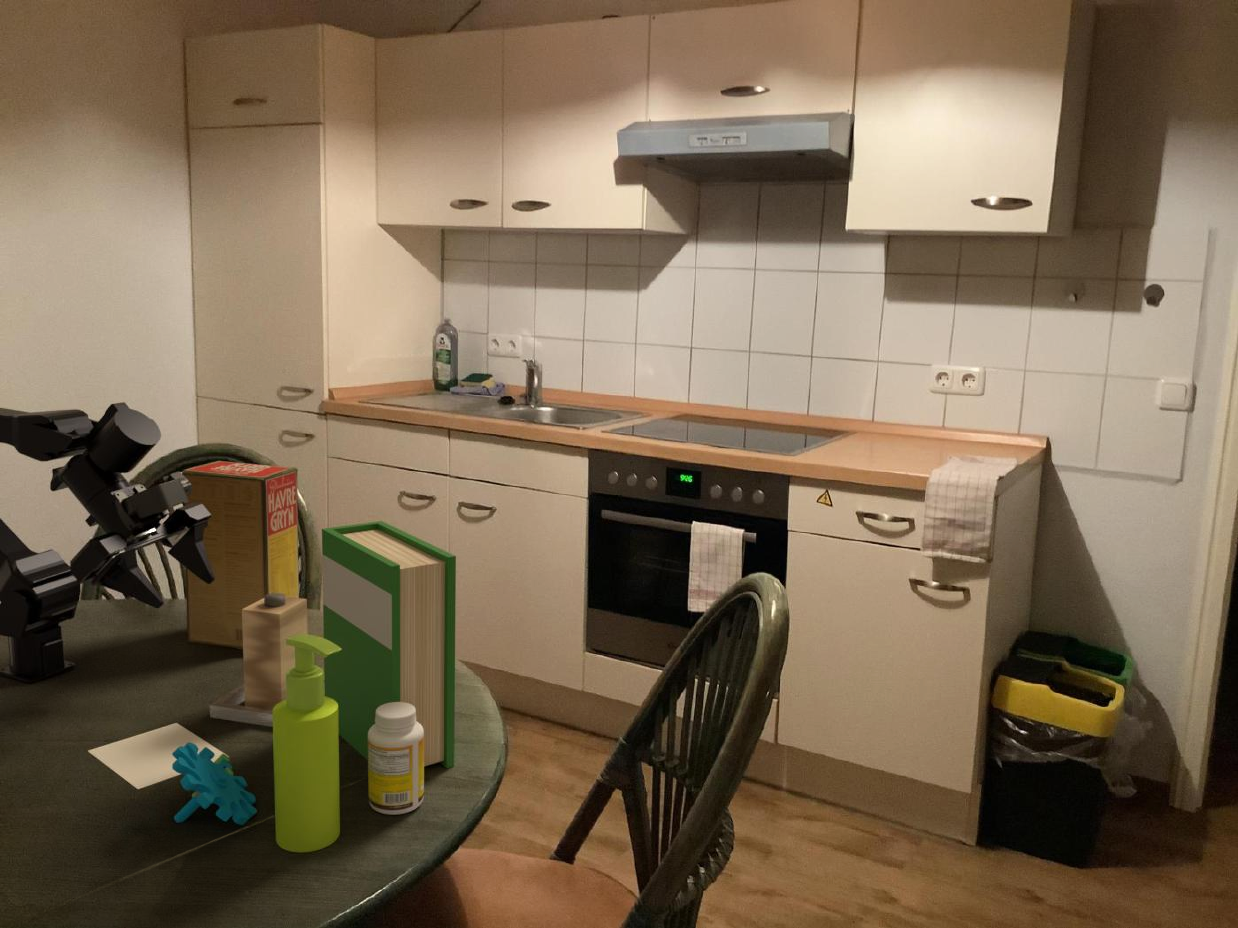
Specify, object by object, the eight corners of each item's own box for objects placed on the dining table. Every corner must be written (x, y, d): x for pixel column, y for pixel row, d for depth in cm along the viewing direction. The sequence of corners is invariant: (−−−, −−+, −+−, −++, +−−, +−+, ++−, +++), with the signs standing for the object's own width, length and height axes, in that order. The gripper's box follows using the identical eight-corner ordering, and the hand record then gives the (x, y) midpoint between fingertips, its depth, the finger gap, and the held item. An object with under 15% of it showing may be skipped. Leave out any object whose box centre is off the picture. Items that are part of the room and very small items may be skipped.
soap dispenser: (312, 863, 93) (308, 656, 90) (262, 839, 97) (256, 639, 93) (360, 834, 98) (358, 637, 95) (310, 813, 102) (307, 622, 98)
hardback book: (454, 765, 113) (455, 556, 108) (392, 784, 108) (391, 566, 104) (382, 709, 126) (381, 520, 122) (325, 724, 121) (321, 528, 117)
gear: (251, 829, 96) (170, 758, 94) (205, 875, 95) (122, 805, 93) (271, 786, 106) (198, 722, 105) (229, 828, 106) (155, 764, 104)
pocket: (210, 719, 122) (209, 704, 121) (262, 684, 132) (262, 671, 132) (293, 731, 119) (293, 717, 119) (340, 695, 130) (339, 681, 129)
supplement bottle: (401, 783, 108) (400, 693, 106) (435, 802, 105) (435, 709, 103) (356, 803, 104) (355, 709, 102) (390, 823, 100) (390, 726, 99)
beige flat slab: (87, 753, 112) (87, 750, 112) (176, 725, 120) (176, 722, 120) (138, 791, 105) (137, 788, 104) (229, 759, 112) (229, 756, 112)
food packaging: (303, 631, 151) (300, 466, 147) (268, 653, 142) (263, 478, 138) (223, 621, 154) (218, 458, 150) (184, 642, 145) (176, 470, 141)
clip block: (245, 712, 123) (241, 601, 121) (273, 692, 129) (270, 586, 126) (282, 717, 122) (279, 606, 120) (308, 698, 128) (306, 591, 125)
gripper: (83, 471, 114) (171, 579, 113) (195, 441, 131) (272, 534, 131) (31, 530, 117) (117, 635, 117) (147, 493, 135) (222, 584, 135)
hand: (187, 593), depth 125 cm, fingers open, 9 cm apart
